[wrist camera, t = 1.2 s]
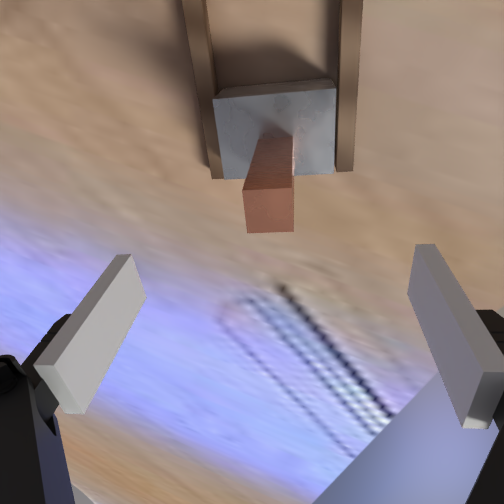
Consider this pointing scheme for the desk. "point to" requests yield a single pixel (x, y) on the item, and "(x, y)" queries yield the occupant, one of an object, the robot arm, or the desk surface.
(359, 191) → the desk surface
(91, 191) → the desk surface
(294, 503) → the desk surface
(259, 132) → the mallet
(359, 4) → the frame
